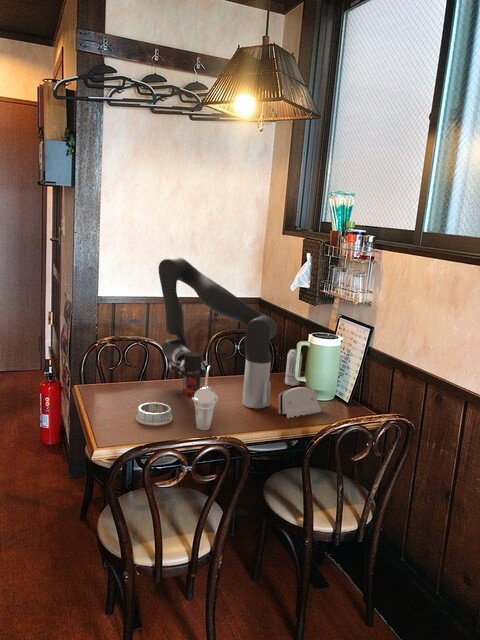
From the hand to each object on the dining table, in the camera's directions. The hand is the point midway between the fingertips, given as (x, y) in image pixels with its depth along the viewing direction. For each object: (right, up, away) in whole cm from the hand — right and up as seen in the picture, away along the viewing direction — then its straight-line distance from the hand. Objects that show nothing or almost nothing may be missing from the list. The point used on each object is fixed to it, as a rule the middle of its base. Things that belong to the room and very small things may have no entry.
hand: (193, 372), depth 184 cm
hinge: (+37, -16, +15) cm, 43 cm away
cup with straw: (+4, -17, -7) cm, 19 cm away
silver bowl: (-13, -15, -3) cm, 20 cm away
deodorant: (-1, -8, +4) cm, 10 cm away
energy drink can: (+38, -10, +45) cm, 59 cm away
